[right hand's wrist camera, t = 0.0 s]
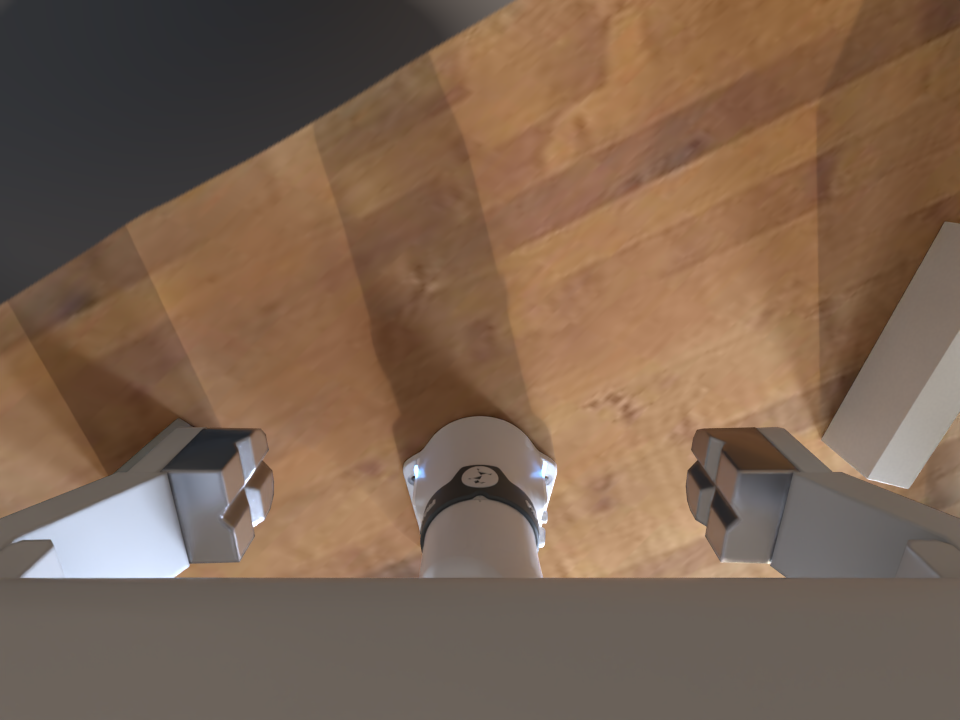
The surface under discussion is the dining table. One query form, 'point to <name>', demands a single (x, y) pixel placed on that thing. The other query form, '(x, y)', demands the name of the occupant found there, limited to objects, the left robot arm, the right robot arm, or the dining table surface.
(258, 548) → the dining table surface
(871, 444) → the bar
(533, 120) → the dining table surface
